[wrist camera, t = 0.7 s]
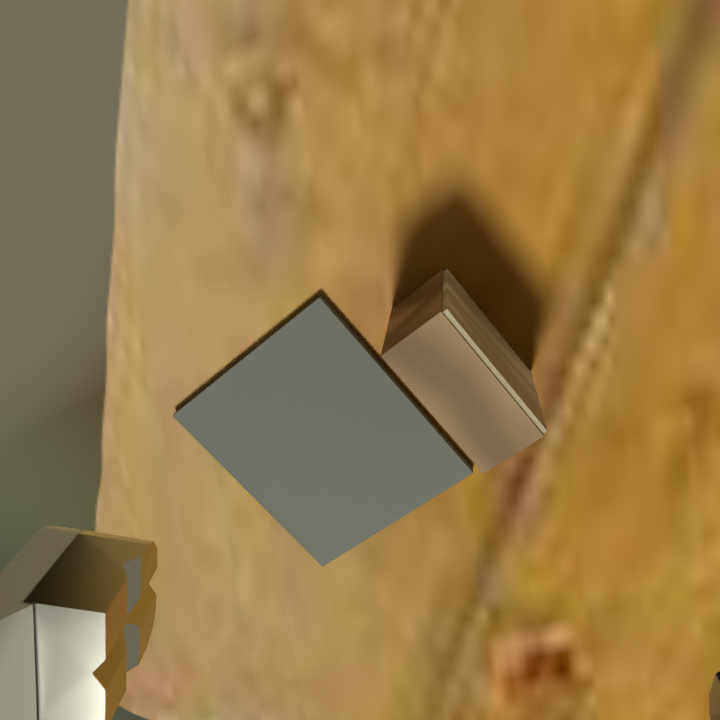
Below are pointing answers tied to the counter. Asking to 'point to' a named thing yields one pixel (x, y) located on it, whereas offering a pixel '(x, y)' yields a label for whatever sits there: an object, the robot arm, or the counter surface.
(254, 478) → the rubber mat
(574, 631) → the counter surface
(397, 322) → the wooden block
